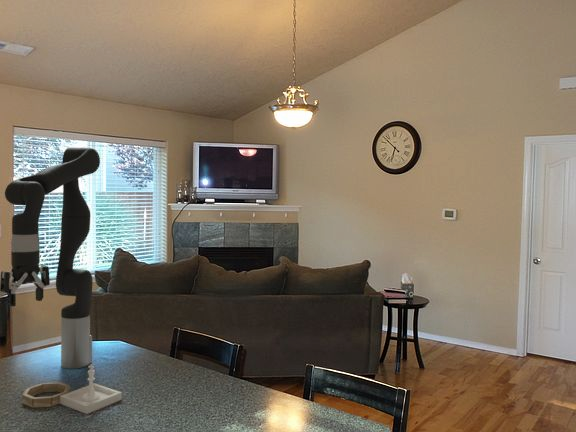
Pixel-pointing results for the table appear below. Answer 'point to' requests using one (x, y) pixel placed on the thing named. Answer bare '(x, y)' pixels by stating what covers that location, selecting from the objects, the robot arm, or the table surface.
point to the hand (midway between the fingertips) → (25, 303)
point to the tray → (77, 403)
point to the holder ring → (44, 401)
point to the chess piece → (91, 387)
